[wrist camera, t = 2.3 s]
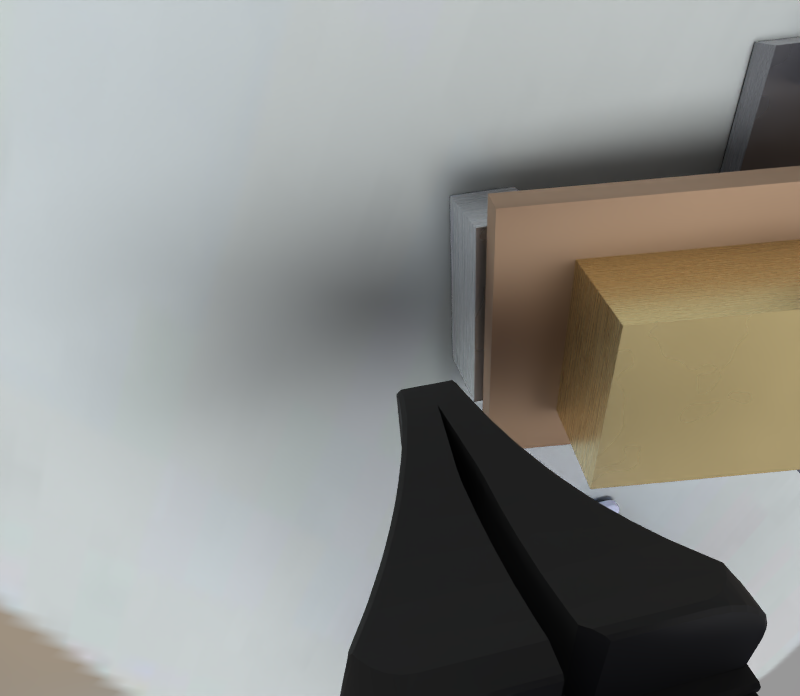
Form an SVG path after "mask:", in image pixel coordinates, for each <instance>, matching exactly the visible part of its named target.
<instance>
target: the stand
mask: <svg viewBox="0 0 800 696" xmlns="http://www.w3.org/2000/svg"><path fill="white" fill-rule="evenodd" d="M790 166H800V37H795V38H786V39H777V40H769V41H760V42H755V44H754V48H753V51H752V55H751V59H750V63H749V66H748V70H747V74H746V77H745V81H744V85H743V89H742V92H741V96H740V100H739V103H738V107H737V111H736V115H735V118H734V122H733V126H732V129H731V133H730V137H729V140H728V144H727V148H726V152H725V155H724V159H723V163H722V166H721V170H720V173H723V172H734V171H746V170H757V169H768V168H779V167H790ZM511 191H518V190H517V189H516V188H515V187H507V188H500V189H493V190H486V191H479V192H472V193H465V194H458V195H451V196H450V233H451V290H452V348H453V359H454V361H455V363H456V365H457V368H458V370H459V372H460V374H461V376H462V378H463V380H464V382H465V384H466V386H467V388H468V390H469V392H470V394H471V397H472V399H473V401H474V402H476V401H481V400H483V376H484V334H485V292H486V250H487V208H488V193H500V192H511ZM797 471H798V472H799V473H800V469H799V470H797Z"/></svg>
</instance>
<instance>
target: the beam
mask: <svg viewBox="0 0 800 696" xmlns="http://www.w3.org/2000/svg"><path fill="white" fill-rule="evenodd" d="M797 239H800V166H790V167H779V168H768V169H757V170H746V171H734V172H723V173H712V174H701V175H690V176H678V177H667V178H656V179H645V180H634V181H623V182H611V183H600V184H589V185H578V186H567V187H555V188H544V189H533V190H522V191H511V192H500V193H488V208H487V250H486V292H485V334H484V376H483V412H484V413H485V414H486V415H487V416H488V417H489V418H490V419H491V420H492V421H493V422H494V423H495V424H496V425H497V426H498V427H499V428H501V429H502V430H503V431H504V432H505V433H506V434H507V435H508V436H509V437H510V438H511V439H513V440H514V441H515V442H516V443H517V444H518V445H520V446H521V447H522V448H533V447H544V446H555V445H565V444H571V443H570V441H569V438H568V436H567V434H566V431H565V429H564V427H563V424H562V422H561V420H560V418H559V415H558V413H557V411H556V410H557V402H558V394H559V386H560V378H561V371H562V363H563V355H564V347H565V340H566V332H567V324H568V316H569V308H570V301H571V293H572V285H573V277H574V270H575V262H576V259H587V258H598V257H610V256H621V255H632V254H643V253H654V252H665V251H676V250H687V249H698V248H709V247H720V246H731V245H742V244H753V243H764V242H775V241H786V240H797Z"/></svg>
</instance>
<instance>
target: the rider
mask: <svg viewBox="0 0 800 696" xmlns="http://www.w3.org/2000/svg"><path fill="white" fill-rule="evenodd" d="M556 411H557V413H558V415H559V418H560V420H561V422H562V424H563V427H564V429H565V431H566V434H567V436H568V438H569V441H570V443H571V445H572V447H573V450H574V452H575V454H576V457H577V459H578V461H579V464H580V466H581V468H582V471H583V473H584V475H585V477H586V480H587V482H588V484H589V487H590V489H597V488H608V487H618V486H629V485H640V484H650V483H661V482H672V481H682V480H693V479H703V478H714V477H725V476H735V475H746V474H757V473H767V472H778V471H789V470H799V469H800V239H797V240H786V241H775V242H764V243H753V244H742V245H731V246H720V247H709V248H698V249H687V250H676V251H665V252H654V253H643V254H632V255H621V256H610V257H598V258H587V259H576V262H575V270H574V277H573V285H572V293H571V301H570V308H569V316H568V324H567V332H566V340H565V347H564V355H563V363H562V371H561V378H560V386H559V394H558V402H557V410H556Z"/></svg>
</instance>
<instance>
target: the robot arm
mask: <svg viewBox="0 0 800 696" xmlns="http://www.w3.org/2000/svg"><path fill="white" fill-rule="evenodd" d="M397 404H398V414H399V424H400V434H401V445H402V454H401V465H400V473H399V482H398V489H397V495H396V501H395V507H394V512H393V517H392V521H391V526H390V530H389V534H388V538H387V542H386V546H385V550H384V553H383V557H382V561H381V564H380V567H379V570H378V573H377V576H376V579H375V582H374V585H373V588H372V591H371V595H370V598H369V601H368V603H367V606H366V609H365V612H364V614H363V616H362V619H361V621H360V624H359V626H358V629H357V631H356V634H355V636H354V639H353V641H352V644H351V646H350V649H349V652H348V659H347V664H346V669H345V673H344V678H343V683H342V689H341V694H340V696H758V695H757V693H756V692H758V691H759V690H760V688H761V687H760V683H759V681H758V679H757V678H756V677H755V675H754V674H753V672H752V671H751V669H750V668H749V666H748V665H747V662H748V661H749V659H750V657H751V656H752V654H753V653H754V651H755V649H756V648H757V646H758V644H759V643H760V641H761V640H762V638H763V635H764V633H765V630H766V627H767V619H766V614H765V613H764V612H763V610H762V609H761V608H760V606H759V605H758V604H757V602H756V601H755V600H754V599H753V597H752V596H751V595H750V593H749V592H748V591H747V590H746V588H745V587H744V586H743V585H742V583H741V582H740V581H739V580H738V579H737V578H736V577H735V576H734V575H733V574H732V573H731V571H730V570H729V569H728V568H727V567H726V566H725V565H724V563H722V562H720V561H718V560H715V559H713V558H711V557H708V556H706V555H703V554H701V553H699V552H696V551H694V550H692V549H689V548H687V547H685V546H682V545H680V544H678V543H675V542H673V541H671V540H669V539H666V538H664V537H662V536H660V535H658V534H656V533H654V532H652V531H650V530H648V529H646V528H644V527H642V526H640V525H638V524H636V523H634V522H632V521H630V520H629V519H627V518H625V517H623V516H622V515H620V514H618V513H619V506H618V505H617V503H616V502H615V501H613V500H606V501H602V502H597V501H595V500H594V499H592V498H590V497H589V496H587V495H586V494H584V493H583V492H581V491H580V490H578V489H576V488H575V487H573V486H572V485H571V484H569V483H568V482H566V481H565V480H563V479H562V478H560V477H559V476H558V475H556V474H555V473H553V472H552V471H551V470H549V469H548V468H547V467H545V466H544V465H543V464H542V463H540V462H539V461H538V460H537V459H535V458H534V457H533V456H532V455H530V454H529V453H528V452H527V451H525V450H524V449H523V448H522V447H521V446H520V445H518V444H517V443H516V442H515V441H514V440H513V439H511V438H510V437H509V436H508V435H507V434H506V433H505V432H504V431H503V430H502V429H501V428H499V427H498V426H497V425H496V424H495V423H494V422H493V421H492V420H491V419H490V418H489V417H488V416H487V415H486V414H485V413H484V412H483V411H482V410H481V409H480V408H479V407H478V406H477V405H476V404H475V403H474V402H473V401H472V400H471V399H470V398H469V397H468V396H467V395H466V394H465V392H464V391H463V390H462V389H461V388H460V387H459V386H458V385H457V383H455V382H454V381H452V380H451V381H445V382H440V383H435V384H429V385H424V386H419V387H413V388H408V389H403V390H400V391H399V392H398V394H397Z"/></svg>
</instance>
